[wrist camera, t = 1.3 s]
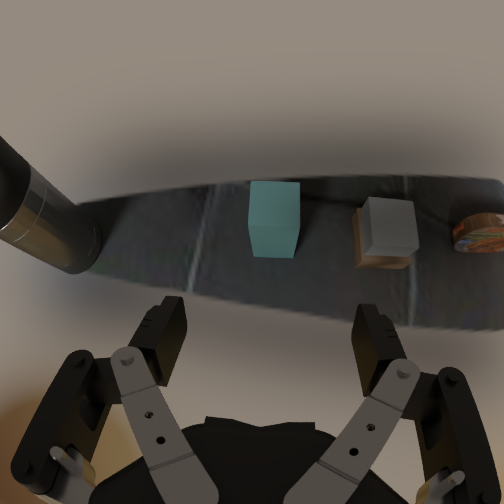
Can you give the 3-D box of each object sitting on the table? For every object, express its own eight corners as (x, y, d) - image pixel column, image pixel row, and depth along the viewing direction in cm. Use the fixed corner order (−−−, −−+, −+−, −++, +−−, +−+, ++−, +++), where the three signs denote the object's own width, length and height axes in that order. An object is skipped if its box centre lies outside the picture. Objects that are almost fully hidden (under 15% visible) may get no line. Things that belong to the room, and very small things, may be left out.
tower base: (354, 268, 38) (361, 260, 34) (351, 219, 40) (357, 207, 37) (401, 269, 37) (412, 262, 34) (396, 221, 39) (405, 211, 36)
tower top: (363, 254, 35) (372, 244, 31) (361, 209, 36) (368, 196, 33) (407, 257, 34) (419, 247, 31) (402, 213, 36) (412, 201, 33)
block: (253, 256, 39) (248, 225, 29) (256, 220, 40) (251, 181, 31) (293, 258, 38) (299, 227, 29) (293, 222, 40) (299, 182, 30)
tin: (444, 252, 37) (475, 230, 29) (440, 232, 38) (469, 207, 30) (508, 253, 36) (539, 235, 28) (504, 235, 37) (534, 215, 29)
